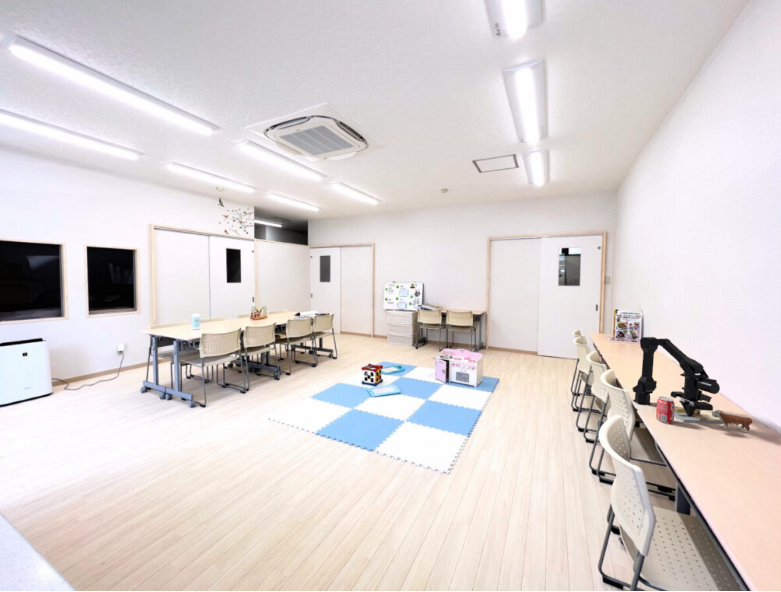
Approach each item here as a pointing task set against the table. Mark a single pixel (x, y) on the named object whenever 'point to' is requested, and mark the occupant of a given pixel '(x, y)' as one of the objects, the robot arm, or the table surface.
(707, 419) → the door mockup
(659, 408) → the soda can
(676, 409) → the latch bar
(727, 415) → the bull figurine
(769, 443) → the table surface
